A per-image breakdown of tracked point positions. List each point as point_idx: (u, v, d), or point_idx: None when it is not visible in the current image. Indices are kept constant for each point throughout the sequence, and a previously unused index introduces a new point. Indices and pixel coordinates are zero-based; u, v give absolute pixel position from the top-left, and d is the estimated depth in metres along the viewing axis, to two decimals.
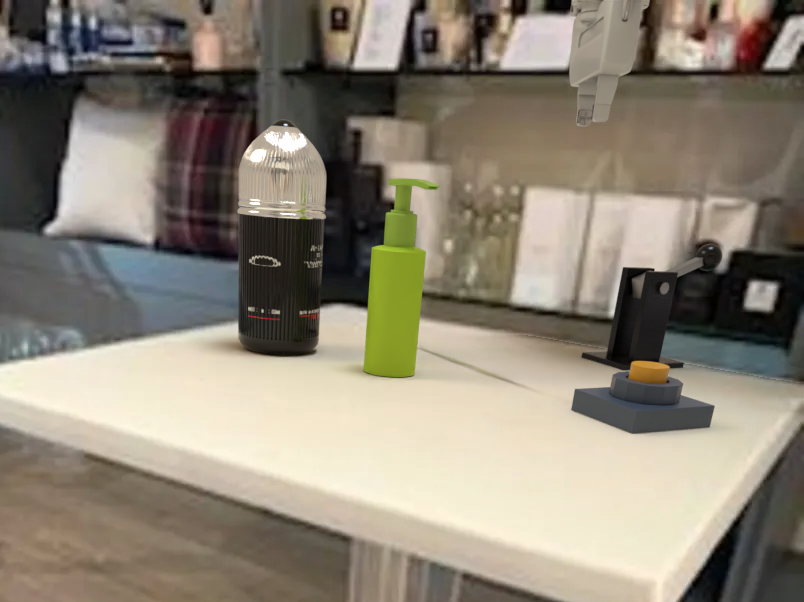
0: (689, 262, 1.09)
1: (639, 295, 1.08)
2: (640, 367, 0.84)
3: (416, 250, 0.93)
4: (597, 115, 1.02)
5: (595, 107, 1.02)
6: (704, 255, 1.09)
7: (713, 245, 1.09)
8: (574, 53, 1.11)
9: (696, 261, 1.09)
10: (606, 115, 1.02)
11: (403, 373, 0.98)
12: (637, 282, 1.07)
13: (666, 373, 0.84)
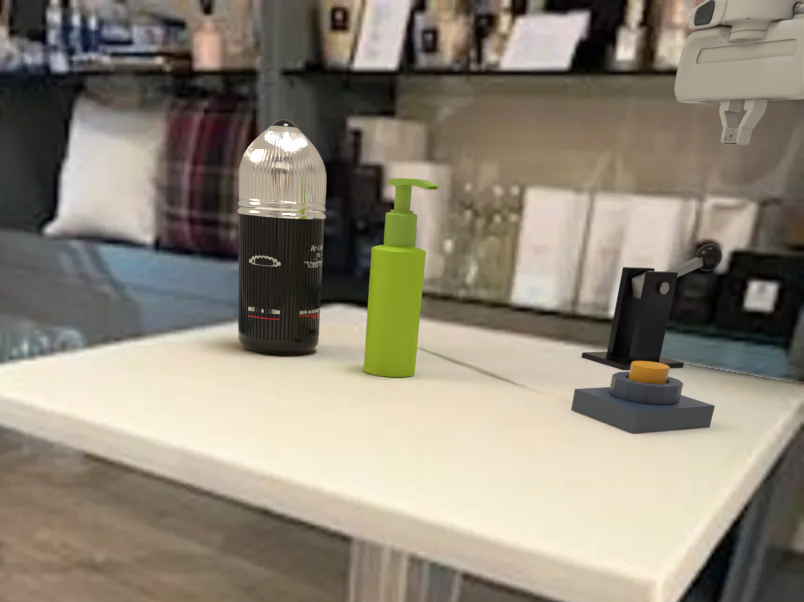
0: (689, 262, 1.09)
1: (639, 295, 1.08)
2: (640, 367, 0.84)
3: (416, 250, 0.93)
4: (742, 138, 1.03)
5: (741, 130, 1.03)
6: (704, 255, 1.09)
7: (713, 245, 1.09)
8: (688, 68, 1.07)
9: (696, 261, 1.09)
10: (748, 138, 1.04)
11: (403, 373, 0.98)
12: (637, 282, 1.07)
13: (666, 373, 0.84)
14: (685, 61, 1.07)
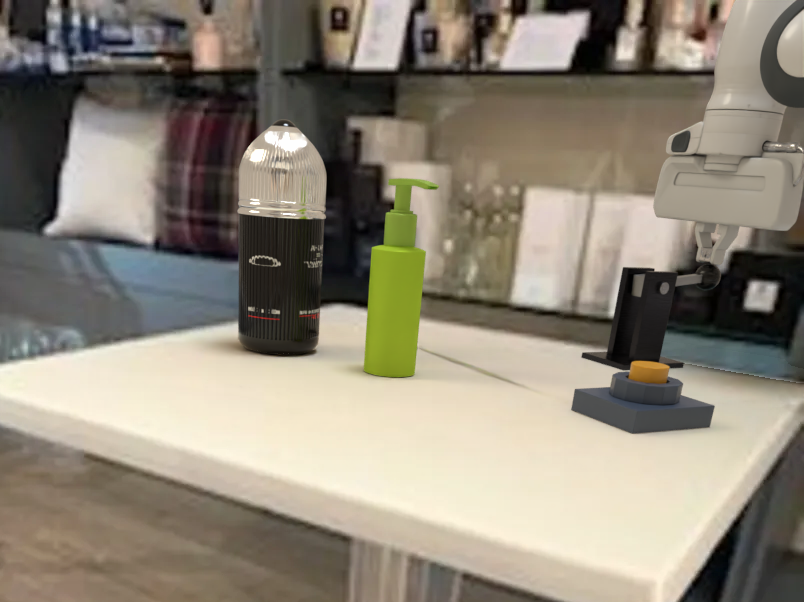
0: (689, 275, 1.10)
1: (638, 293, 1.08)
2: (640, 367, 0.84)
3: (416, 250, 0.93)
4: (716, 259, 1.10)
5: (715, 252, 1.09)
6: (704, 272, 1.11)
7: (713, 265, 1.11)
8: (665, 188, 1.13)
9: (696, 276, 1.10)
10: (722, 259, 1.10)
11: (403, 373, 0.98)
12: (639, 278, 1.07)
13: (666, 373, 0.84)
14: (663, 182, 1.13)
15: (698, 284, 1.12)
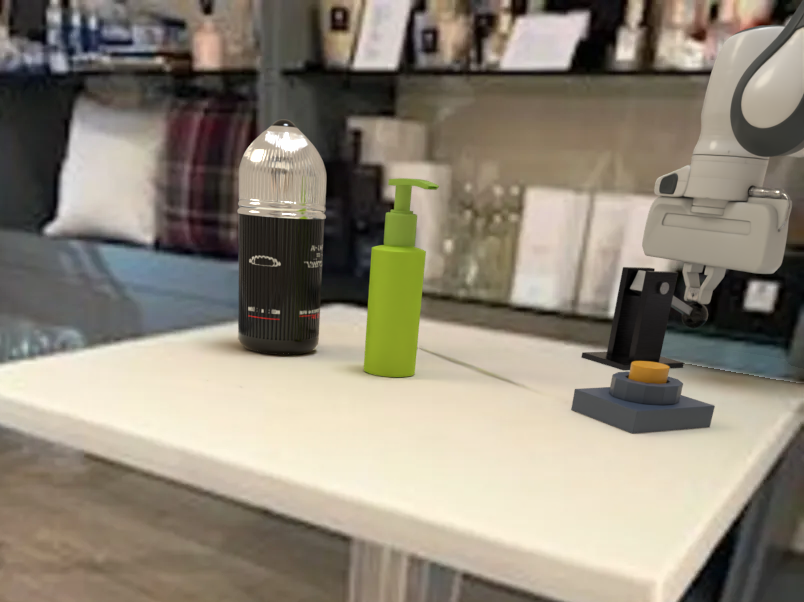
0: (682, 302, 1.11)
1: (637, 286, 1.08)
2: (640, 367, 0.84)
3: (416, 250, 0.93)
4: (703, 299, 1.11)
5: (702, 292, 1.11)
6: (695, 307, 1.12)
7: (704, 306, 1.13)
8: (654, 227, 1.15)
9: (687, 306, 1.12)
10: (709, 298, 1.12)
11: (403, 373, 0.98)
12: (643, 273, 1.07)
13: (666, 373, 0.84)
14: (652, 221, 1.15)
15: (685, 317, 1.13)
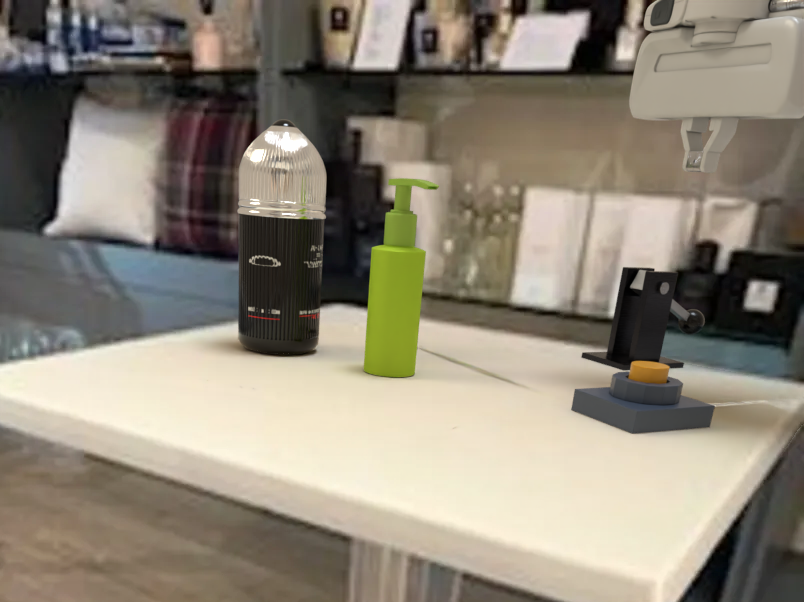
0: (680, 306, 1.12)
1: (638, 285, 1.07)
2: (640, 367, 0.84)
3: (416, 250, 0.93)
4: (707, 165, 0.84)
5: (706, 155, 0.84)
6: (692, 313, 1.13)
7: None
8: (644, 77, 0.88)
9: (685, 310, 1.12)
10: (715, 165, 0.85)
11: (403, 373, 0.98)
12: (644, 272, 1.07)
13: (666, 373, 0.84)
14: (641, 69, 0.88)
15: (682, 322, 1.13)
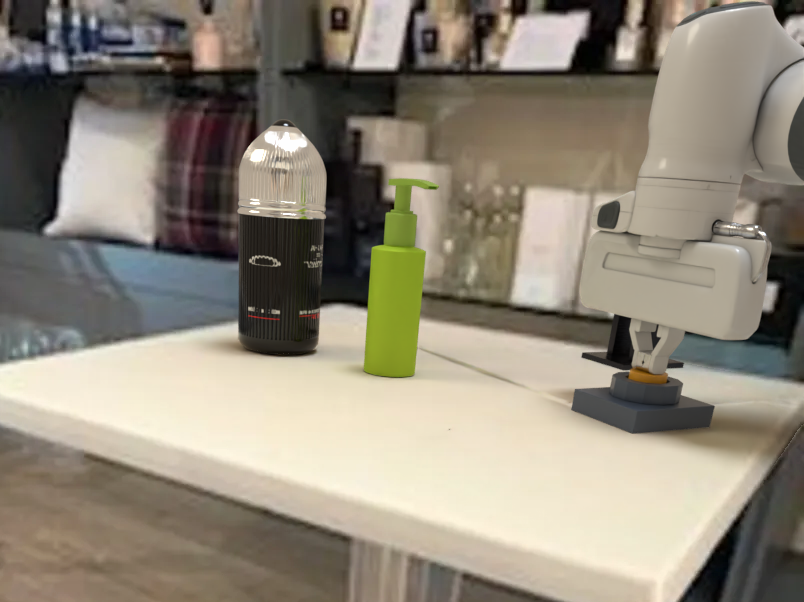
0: None
1: None
2: (638, 374, 0.84)
3: (416, 250, 0.93)
4: (656, 368, 0.83)
5: (654, 359, 0.83)
6: None
7: None
8: (593, 271, 0.87)
9: None
10: (664, 367, 0.84)
11: (403, 373, 0.98)
12: None
13: (664, 380, 0.84)
14: (590, 263, 0.87)
15: None
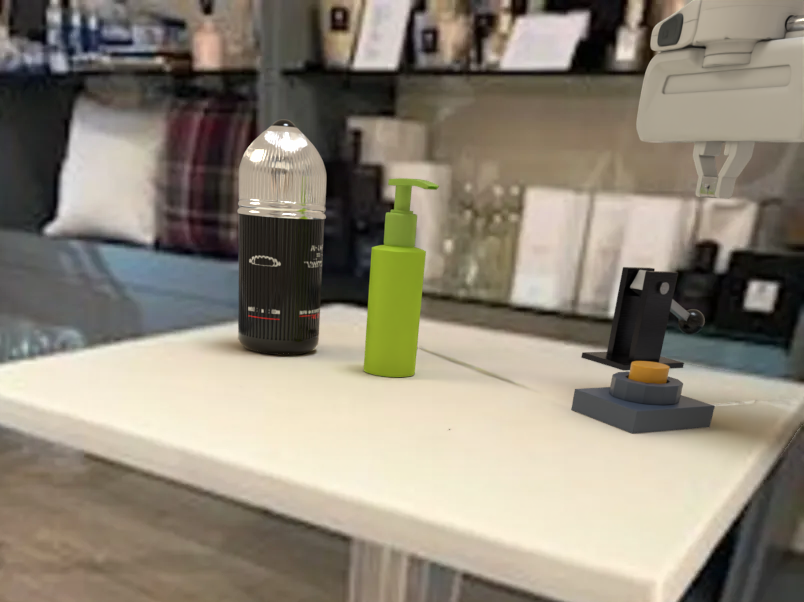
0: (680, 306, 1.12)
1: (638, 285, 1.07)
2: (640, 367, 0.84)
3: (416, 250, 0.93)
4: (723, 191, 0.80)
5: (721, 181, 0.80)
6: (692, 313, 1.13)
7: None
8: (652, 99, 0.84)
9: (685, 310, 1.12)
10: (731, 190, 0.81)
11: (403, 373, 0.98)
12: (644, 272, 1.07)
13: (666, 373, 0.84)
14: (648, 91, 0.84)
15: (682, 322, 1.13)
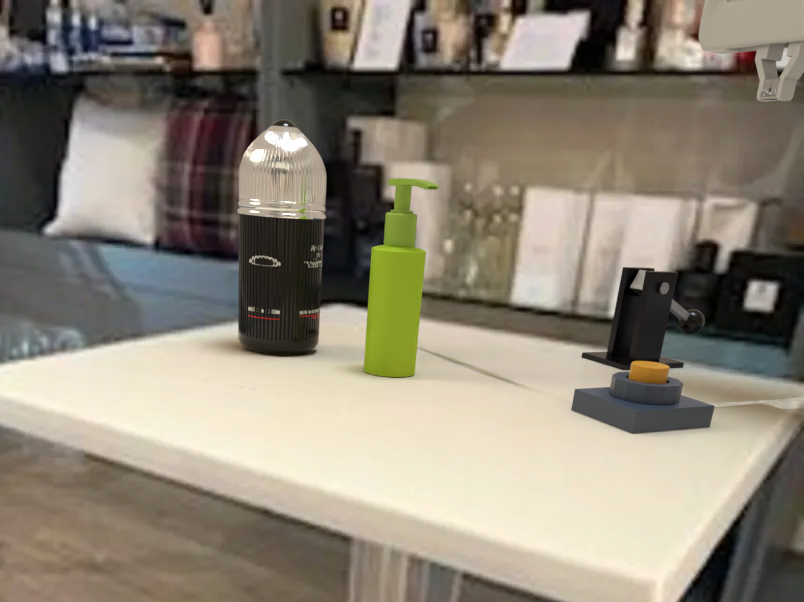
0: (680, 306, 1.12)
1: (638, 285, 1.07)
2: (640, 367, 0.84)
3: (416, 250, 0.93)
4: (784, 92, 0.84)
5: (783, 82, 0.83)
6: (692, 313, 1.13)
7: None
8: (716, 7, 0.87)
9: (685, 310, 1.12)
10: (791, 92, 0.84)
11: (403, 373, 0.98)
12: (644, 272, 1.07)
13: (666, 373, 0.84)
14: None
15: (682, 322, 1.13)
